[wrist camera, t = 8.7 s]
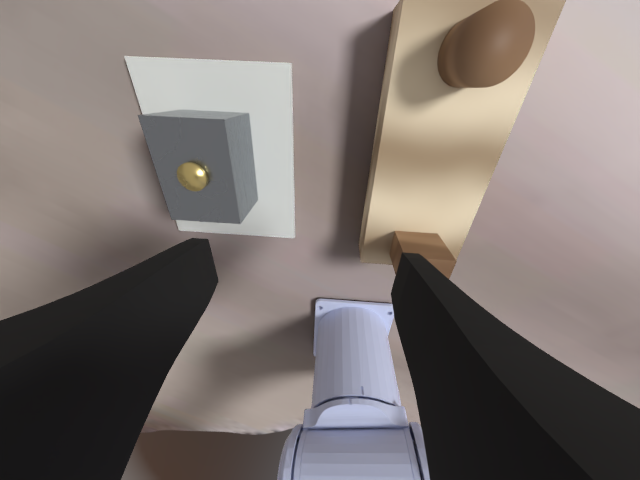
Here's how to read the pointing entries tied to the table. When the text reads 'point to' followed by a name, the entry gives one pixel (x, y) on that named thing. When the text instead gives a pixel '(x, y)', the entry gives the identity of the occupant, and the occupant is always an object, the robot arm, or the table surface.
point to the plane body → (446, 119)
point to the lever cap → (203, 163)
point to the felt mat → (233, 96)
